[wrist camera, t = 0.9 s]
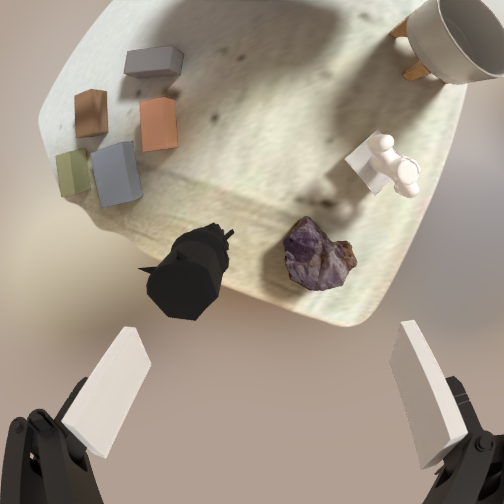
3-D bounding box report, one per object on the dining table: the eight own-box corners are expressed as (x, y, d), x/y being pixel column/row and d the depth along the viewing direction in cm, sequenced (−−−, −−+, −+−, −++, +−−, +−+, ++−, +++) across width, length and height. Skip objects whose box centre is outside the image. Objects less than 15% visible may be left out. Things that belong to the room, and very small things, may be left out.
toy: (227, 198, 44) (189, 243, 25) (252, 247, 47) (233, 319, 28) (185, 219, 46) (127, 272, 28) (210, 264, 49) (172, 337, 30)
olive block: (71, 152, 43) (55, 156, 38) (86, 148, 42) (69, 151, 38) (77, 191, 46) (61, 197, 41) (90, 188, 45) (75, 194, 41)
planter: (405, 12, 26) (452, -27, 10) (458, 61, 28) (519, 45, 12) (374, 53, 31) (422, 14, 15) (432, 104, 33) (499, 98, 17)
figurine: (371, 196, 41) (410, 223, 27) (334, 152, 39) (361, 158, 25) (401, 168, 39) (450, 185, 25) (366, 123, 37) (406, 118, 23)
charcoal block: (138, 78, 37) (123, 73, 32) (141, 57, 35) (127, 51, 30) (180, 75, 36) (169, 69, 32) (184, 54, 35) (173, 45, 30)
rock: (311, 205, 44) (271, 248, 47) (312, 212, 36) (263, 263, 39) (360, 253, 44) (319, 292, 48) (370, 269, 36) (321, 315, 40)
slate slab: (102, 151, 42) (90, 153, 39) (133, 141, 41) (121, 142, 38) (113, 202, 46) (101, 207, 42) (143, 195, 45) (133, 200, 42)
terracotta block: (153, 104, 39) (139, 102, 34) (175, 100, 38) (163, 96, 34) (156, 150, 42) (142, 152, 37) (178, 146, 41) (166, 148, 37)
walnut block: (90, 97, 38) (74, 95, 34) (107, 91, 38) (91, 88, 33) (92, 136, 41) (76, 138, 37) (108, 132, 41) (92, 133, 36)
